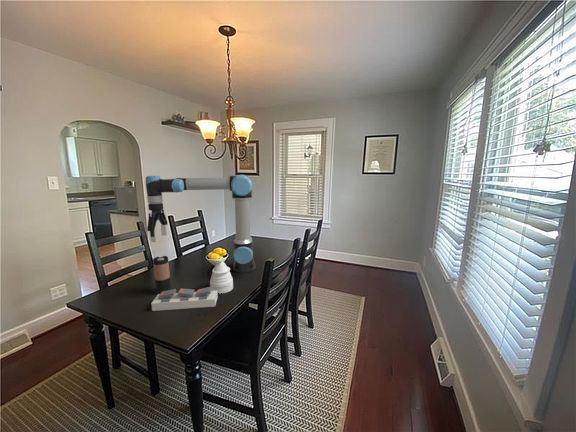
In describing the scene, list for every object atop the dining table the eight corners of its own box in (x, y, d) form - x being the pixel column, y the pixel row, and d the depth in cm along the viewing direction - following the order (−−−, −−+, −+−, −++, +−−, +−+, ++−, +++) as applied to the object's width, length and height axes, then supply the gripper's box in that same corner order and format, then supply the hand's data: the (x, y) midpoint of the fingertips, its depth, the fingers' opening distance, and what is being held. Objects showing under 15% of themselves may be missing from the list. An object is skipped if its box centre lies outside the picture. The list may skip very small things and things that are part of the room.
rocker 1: (176, 291, 130) (175, 288, 129) (173, 296, 125) (172, 293, 125) (162, 294, 129) (161, 291, 129) (159, 299, 124) (158, 296, 124)
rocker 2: (211, 289, 132) (211, 286, 132) (210, 293, 127) (209, 290, 127) (198, 292, 131) (197, 289, 131) (196, 296, 127) (195, 294, 126)
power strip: (217, 297, 134) (217, 290, 134) (215, 306, 126) (214, 298, 125) (159, 301, 131) (158, 294, 130) (152, 311, 122) (151, 303, 121)
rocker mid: (194, 292, 131) (194, 289, 131) (192, 297, 126) (192, 294, 126) (180, 291, 130) (180, 288, 130) (177, 295, 125) (177, 292, 125)
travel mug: (163, 296, 136) (160, 261, 132) (153, 293, 138) (149, 259, 134) (174, 289, 143) (171, 256, 139) (164, 287, 145) (160, 255, 142)
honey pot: (232, 292, 140) (231, 262, 136) (208, 294, 138) (206, 263, 134) (233, 282, 152) (232, 254, 149) (212, 284, 150) (210, 255, 147)
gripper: (158, 200, 155) (162, 233, 159) (137, 206, 130) (141, 245, 134) (171, 200, 155) (174, 232, 159) (151, 206, 131) (156, 244, 135)
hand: (159, 238), depth 147 cm, fingers open, 13 cm apart
